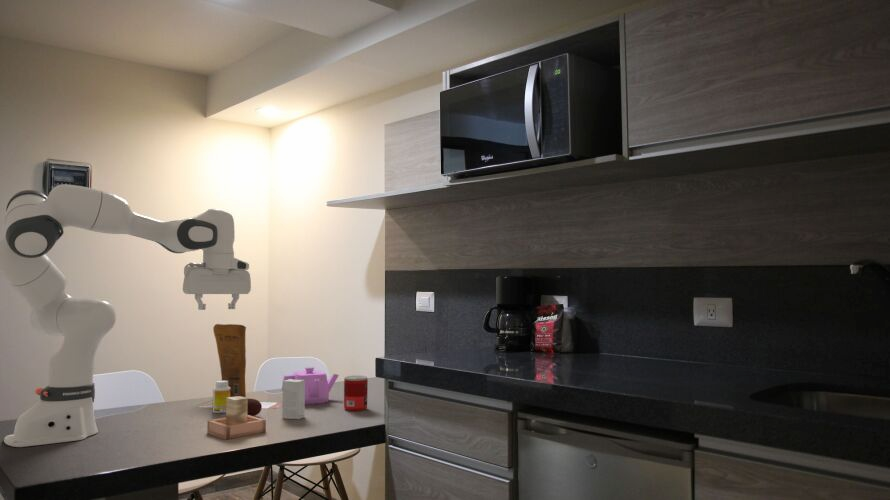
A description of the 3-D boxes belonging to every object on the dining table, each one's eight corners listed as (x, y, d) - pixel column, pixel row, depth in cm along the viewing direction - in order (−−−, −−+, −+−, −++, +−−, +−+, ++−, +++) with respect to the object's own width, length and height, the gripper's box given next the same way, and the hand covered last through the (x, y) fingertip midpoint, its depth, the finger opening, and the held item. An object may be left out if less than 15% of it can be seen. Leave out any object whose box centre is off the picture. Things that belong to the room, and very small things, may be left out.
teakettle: (301, 395, 249) (302, 363, 250) (340, 398, 244) (341, 365, 244) (276, 403, 233) (276, 369, 234) (317, 406, 228) (318, 371, 228)
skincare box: (305, 417, 210) (305, 379, 211) (298, 419, 206) (299, 381, 206) (288, 415, 212) (288, 379, 212) (281, 418, 207) (282, 380, 208)
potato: (251, 420, 204) (252, 401, 205) (229, 418, 207) (230, 399, 207) (265, 416, 211) (265, 397, 212) (244, 414, 214) (244, 396, 214)
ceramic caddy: (225, 439, 180) (226, 426, 180) (207, 432, 187) (207, 420, 188) (265, 432, 189) (265, 420, 189) (246, 426, 196) (246, 414, 197)
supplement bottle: (232, 412, 217) (233, 381, 218) (216, 414, 214) (216, 383, 214) (226, 409, 221) (227, 379, 222) (210, 411, 218) (210, 381, 218)
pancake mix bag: (236, 403, 233) (237, 325, 234) (210, 396, 245) (211, 323, 247) (253, 400, 238) (254, 324, 239) (226, 394, 250) (227, 322, 252)
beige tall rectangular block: (234, 431, 185) (234, 399, 185) (225, 428, 188) (226, 397, 189) (247, 429, 188) (247, 398, 188) (238, 426, 191) (239, 395, 192)
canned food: (369, 410, 221) (370, 378, 222) (346, 412, 218) (347, 379, 219) (364, 406, 228) (364, 375, 229) (341, 407, 225) (342, 376, 226)
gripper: (189, 262, 185) (187, 310, 184) (254, 264, 200) (252, 309, 199) (179, 262, 189) (178, 309, 188) (243, 264, 204) (242, 308, 203)
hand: (217, 309), depth 194 cm, fingers open, 8 cm apart
